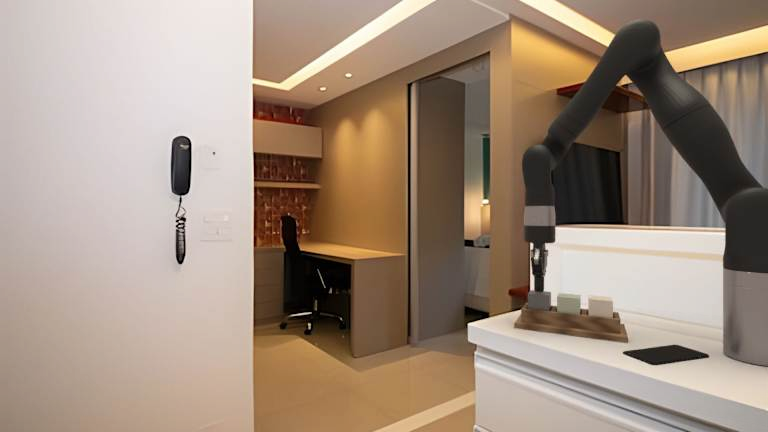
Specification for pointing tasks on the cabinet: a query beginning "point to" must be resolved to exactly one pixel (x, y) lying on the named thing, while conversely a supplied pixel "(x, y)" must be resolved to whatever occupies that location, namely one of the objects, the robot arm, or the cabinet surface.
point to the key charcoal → (539, 300)
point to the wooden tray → (572, 324)
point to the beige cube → (600, 306)
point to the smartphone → (665, 354)
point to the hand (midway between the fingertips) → (539, 291)
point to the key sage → (569, 303)
